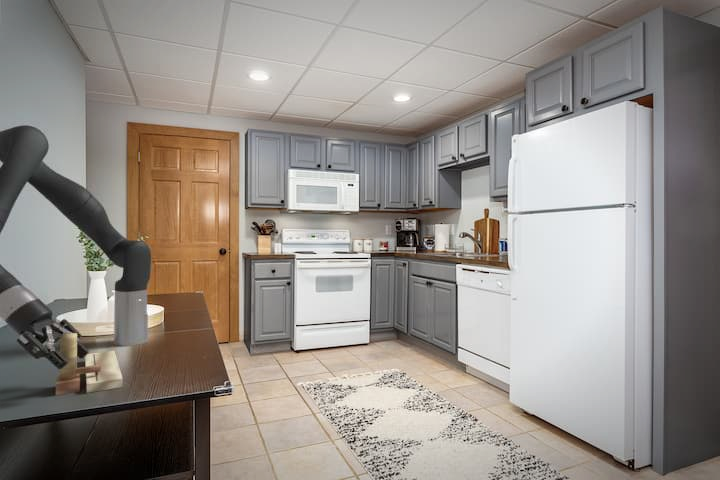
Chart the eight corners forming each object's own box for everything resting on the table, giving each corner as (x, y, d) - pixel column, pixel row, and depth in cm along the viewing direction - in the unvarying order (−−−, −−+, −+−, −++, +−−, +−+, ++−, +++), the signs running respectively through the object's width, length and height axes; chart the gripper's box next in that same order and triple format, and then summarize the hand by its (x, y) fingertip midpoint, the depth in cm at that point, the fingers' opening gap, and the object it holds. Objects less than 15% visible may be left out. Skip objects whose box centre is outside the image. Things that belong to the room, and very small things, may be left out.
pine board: (114, 357, 119) (114, 350, 119) (122, 387, 97) (122, 378, 97) (85, 361, 115) (85, 354, 115) (86, 392, 93) (86, 383, 93)
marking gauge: (99, 379, 102) (100, 328, 101) (101, 387, 97) (101, 334, 96) (56, 386, 97) (57, 333, 97) (55, 395, 92) (56, 338, 92)
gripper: (10, 303, 88) (68, 358, 89) (55, 293, 102) (104, 341, 103) (-17, 328, 87) (41, 383, 88) (32, 314, 102) (81, 362, 103)
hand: (75, 360), depth 96 cm, fingers open, 7 cm apart
